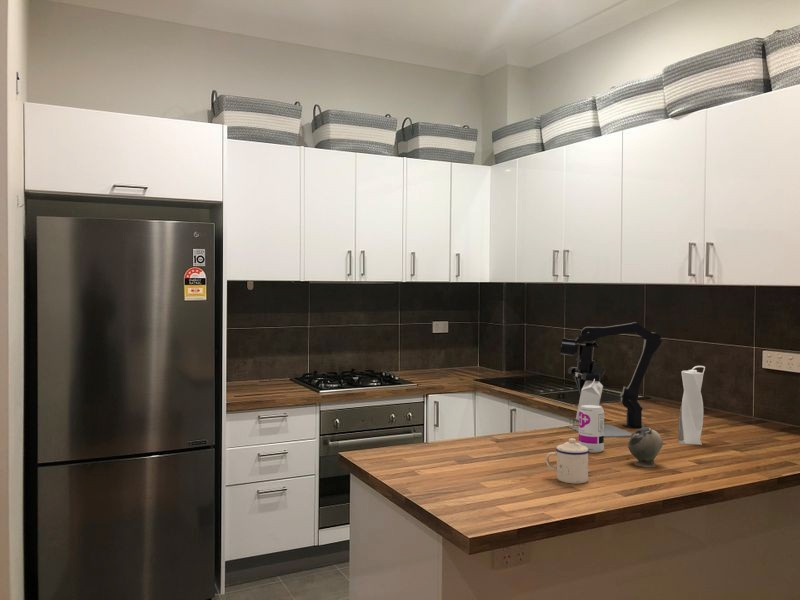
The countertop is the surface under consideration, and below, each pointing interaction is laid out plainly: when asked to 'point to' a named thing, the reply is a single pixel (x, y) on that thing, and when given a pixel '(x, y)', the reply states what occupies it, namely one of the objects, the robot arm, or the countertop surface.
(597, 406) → the supplement can
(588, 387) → the milk carton
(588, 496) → the countertop surface
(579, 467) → the teacup with lid
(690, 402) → the white tall faceted vessel
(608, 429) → the mat
